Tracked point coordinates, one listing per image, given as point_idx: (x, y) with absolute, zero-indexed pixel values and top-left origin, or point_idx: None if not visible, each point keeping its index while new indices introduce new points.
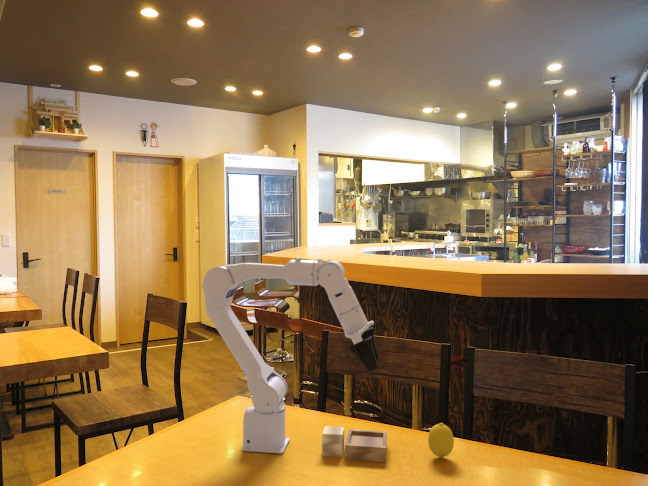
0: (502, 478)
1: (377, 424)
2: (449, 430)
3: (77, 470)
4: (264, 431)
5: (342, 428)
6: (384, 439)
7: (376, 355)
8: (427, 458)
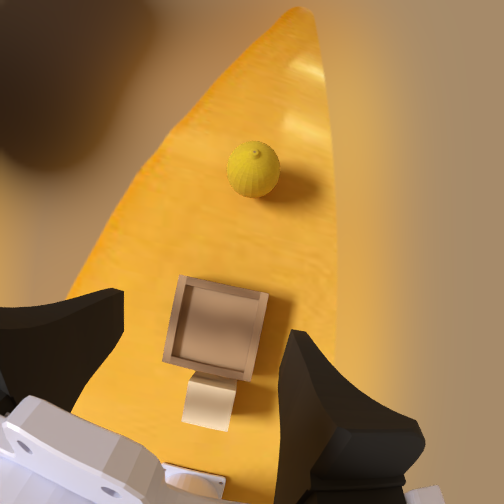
0: (323, 118)
1: (85, 274)
2: (265, 144)
3: None
4: None
5: (196, 386)
6: (223, 289)
7: (111, 303)
8: (251, 208)
